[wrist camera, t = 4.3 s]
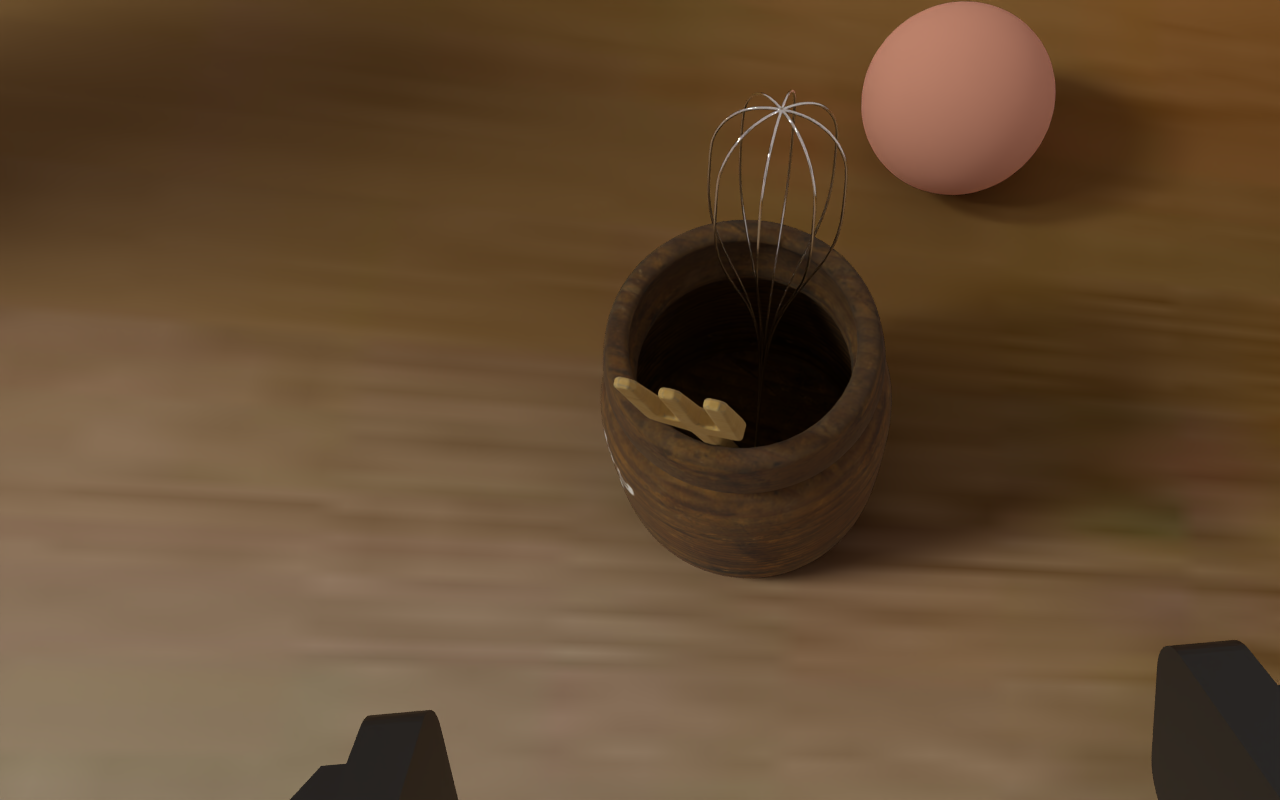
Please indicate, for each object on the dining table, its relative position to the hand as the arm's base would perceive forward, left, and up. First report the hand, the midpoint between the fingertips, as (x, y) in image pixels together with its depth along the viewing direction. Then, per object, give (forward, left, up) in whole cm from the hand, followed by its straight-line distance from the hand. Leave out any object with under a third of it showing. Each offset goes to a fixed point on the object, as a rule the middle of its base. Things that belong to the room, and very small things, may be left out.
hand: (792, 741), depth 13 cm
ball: (+15, +6, -10) cm, 19 cm away
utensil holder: (+5, +5, -12) cm, 14 cm away
